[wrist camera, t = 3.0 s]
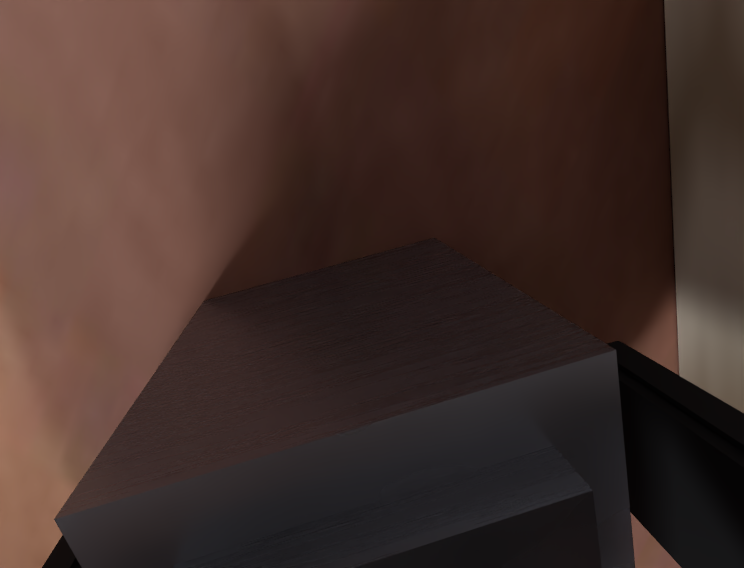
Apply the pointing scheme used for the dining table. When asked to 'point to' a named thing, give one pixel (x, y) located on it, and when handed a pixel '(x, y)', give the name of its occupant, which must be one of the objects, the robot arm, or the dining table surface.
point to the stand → (708, 190)
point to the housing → (367, 431)
